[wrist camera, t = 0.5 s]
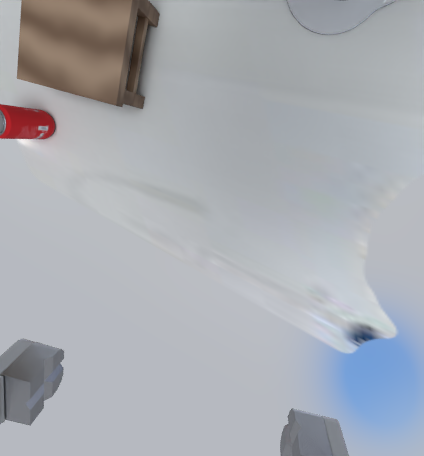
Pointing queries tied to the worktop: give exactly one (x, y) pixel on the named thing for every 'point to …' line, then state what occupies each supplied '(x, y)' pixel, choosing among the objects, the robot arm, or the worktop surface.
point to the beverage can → (25, 123)
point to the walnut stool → (85, 46)
